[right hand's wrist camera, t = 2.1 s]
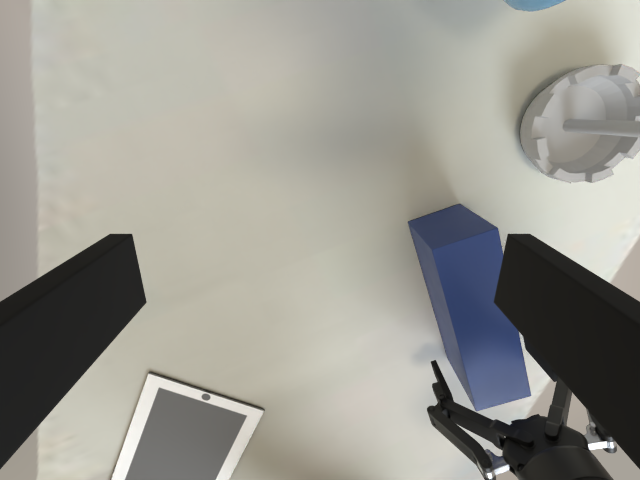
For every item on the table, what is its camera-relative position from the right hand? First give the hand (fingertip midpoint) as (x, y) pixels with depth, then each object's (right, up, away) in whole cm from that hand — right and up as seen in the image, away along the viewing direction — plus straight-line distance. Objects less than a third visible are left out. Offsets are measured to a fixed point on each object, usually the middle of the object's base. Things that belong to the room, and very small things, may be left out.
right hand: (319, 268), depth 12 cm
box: (+20, -6, +40) cm, 45 cm away
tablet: (-25, -38, +51) cm, 69 cm away
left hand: (+24, -16, +39) cm, 48 cm away
